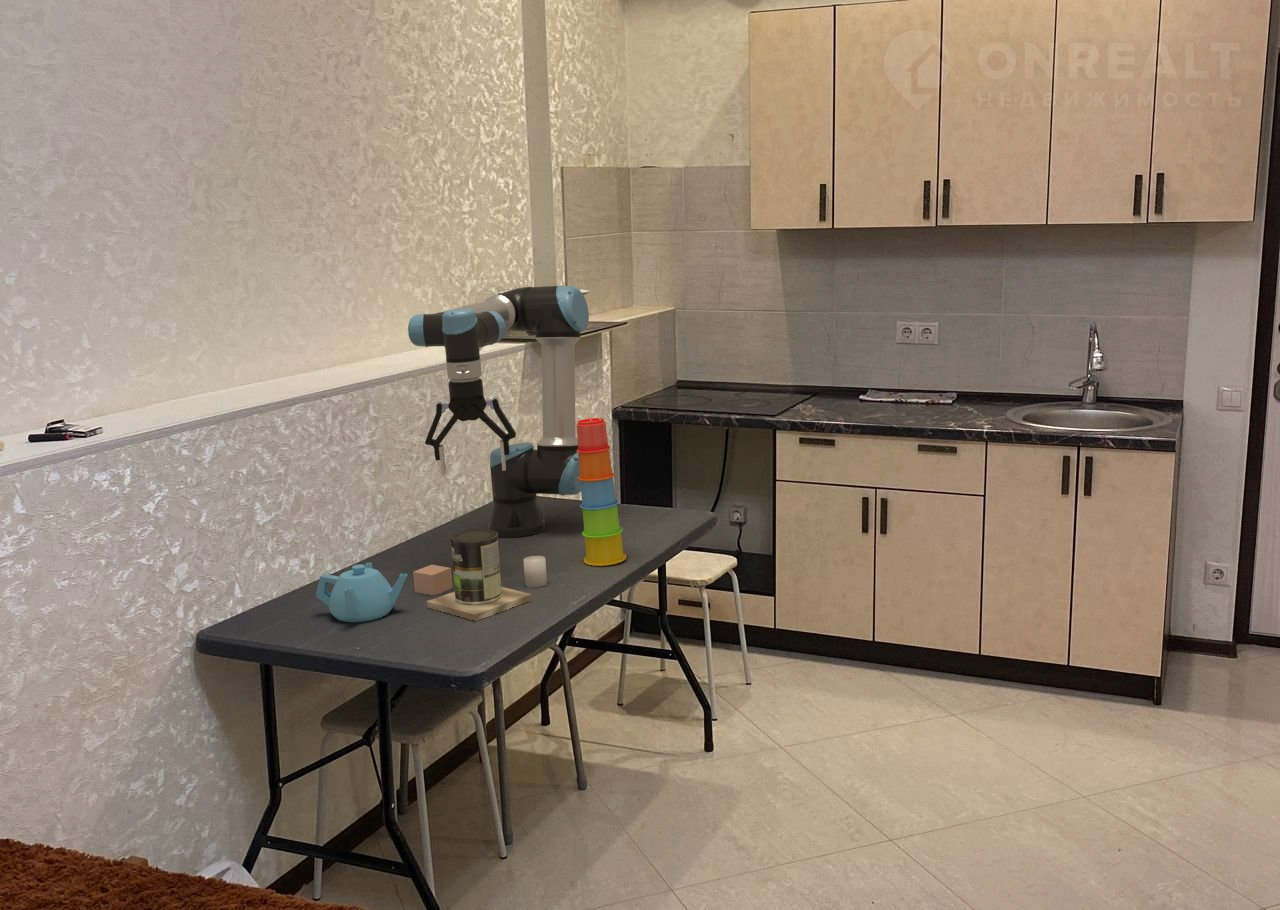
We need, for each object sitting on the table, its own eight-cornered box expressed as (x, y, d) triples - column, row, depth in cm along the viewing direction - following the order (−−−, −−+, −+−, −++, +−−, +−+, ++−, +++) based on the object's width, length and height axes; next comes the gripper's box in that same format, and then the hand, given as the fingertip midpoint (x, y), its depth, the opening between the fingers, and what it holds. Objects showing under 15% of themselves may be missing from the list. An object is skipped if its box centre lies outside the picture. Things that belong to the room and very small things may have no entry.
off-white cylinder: (536, 579, 271) (534, 554, 269) (551, 583, 267) (549, 557, 266) (520, 585, 267) (518, 559, 266) (535, 588, 264) (533, 563, 263)
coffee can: (461, 608, 248) (456, 544, 245) (450, 594, 257) (444, 533, 255) (508, 600, 252) (503, 537, 249) (495, 587, 261) (490, 526, 258)
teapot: (376, 597, 264) (371, 551, 262) (413, 611, 253) (408, 563, 251) (314, 615, 253) (309, 567, 251) (350, 630, 243) (345, 580, 241)
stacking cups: (597, 569, 276) (589, 425, 269) (576, 560, 284) (567, 419, 277) (634, 561, 281) (627, 419, 274) (612, 552, 289) (604, 414, 283)
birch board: (483, 588, 266) (482, 582, 266) (531, 600, 255) (531, 594, 255) (427, 607, 254) (426, 601, 254) (475, 621, 244) (474, 614, 243)
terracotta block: (433, 585, 270) (431, 564, 270) (452, 588, 267) (450, 567, 266) (415, 592, 266) (413, 571, 265) (434, 596, 262) (432, 575, 261)
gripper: (406, 386, 256) (417, 480, 261) (520, 377, 258) (529, 471, 263) (410, 380, 263) (420, 471, 268) (521, 372, 265) (529, 463, 270)
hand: (474, 471), depth 265 cm, fingers open, 13 cm apart
